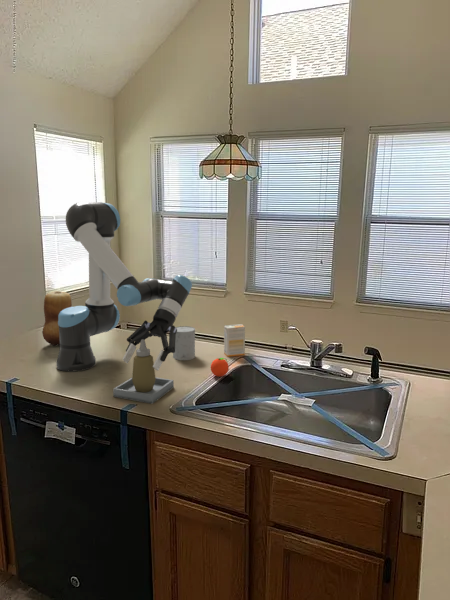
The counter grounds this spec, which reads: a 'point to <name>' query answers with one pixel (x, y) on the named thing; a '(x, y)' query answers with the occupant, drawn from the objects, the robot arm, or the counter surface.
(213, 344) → the counter surface
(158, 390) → the tray
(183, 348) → the grey cylinder
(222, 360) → the clementine
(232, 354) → the supplement box
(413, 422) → the counter surface
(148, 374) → the squeeze bottle
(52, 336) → the butternut squash
